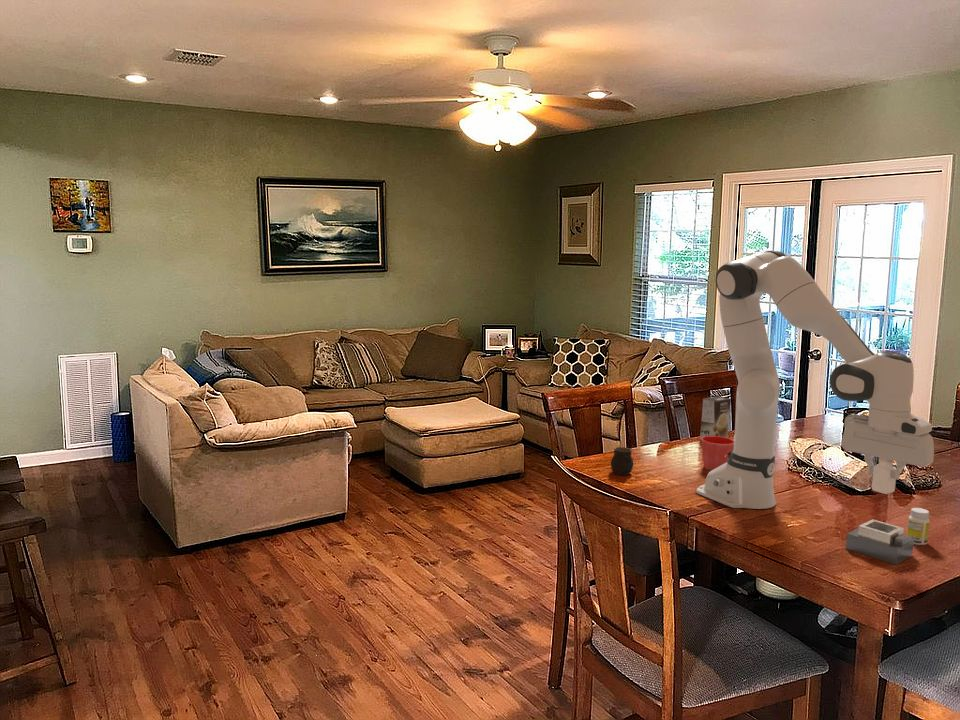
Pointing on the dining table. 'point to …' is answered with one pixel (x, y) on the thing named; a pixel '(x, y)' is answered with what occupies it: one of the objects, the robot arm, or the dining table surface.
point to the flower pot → (715, 451)
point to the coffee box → (715, 417)
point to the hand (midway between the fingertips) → (883, 475)
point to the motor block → (880, 541)
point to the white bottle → (883, 476)
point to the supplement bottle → (918, 526)
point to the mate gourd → (622, 461)
